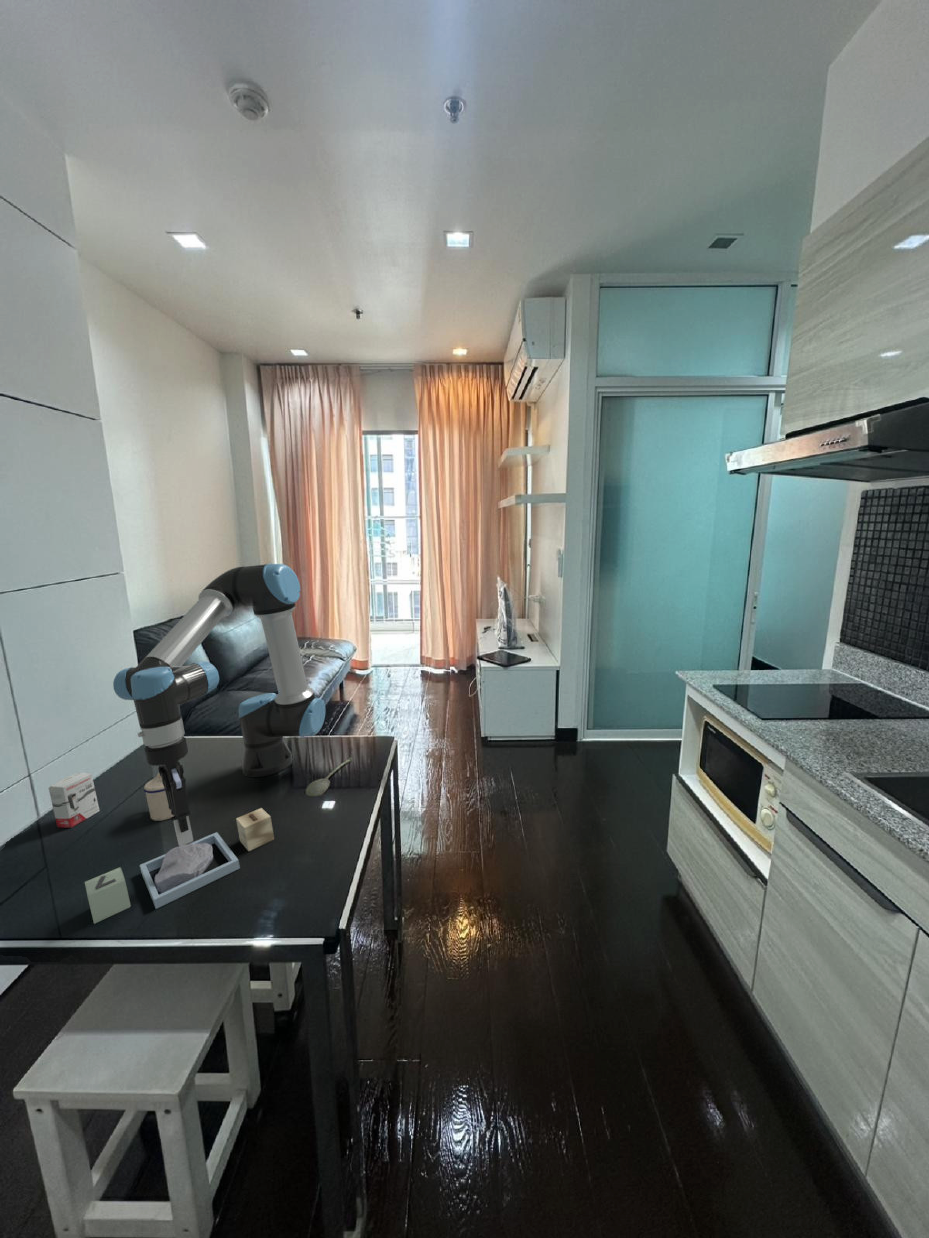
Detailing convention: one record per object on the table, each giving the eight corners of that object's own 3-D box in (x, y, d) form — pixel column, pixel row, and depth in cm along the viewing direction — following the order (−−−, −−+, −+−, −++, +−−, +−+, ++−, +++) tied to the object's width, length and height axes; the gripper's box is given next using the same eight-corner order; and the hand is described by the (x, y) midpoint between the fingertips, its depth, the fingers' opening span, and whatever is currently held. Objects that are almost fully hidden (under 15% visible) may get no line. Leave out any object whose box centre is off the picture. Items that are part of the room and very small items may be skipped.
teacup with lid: (195, 806, 136) (187, 767, 134) (162, 824, 128) (154, 783, 127) (169, 799, 142) (161, 761, 140) (136, 816, 134) (128, 776, 132)
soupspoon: (301, 799, 137) (321, 802, 136) (299, 788, 137) (320, 791, 135) (341, 761, 158) (360, 763, 156) (340, 751, 157) (359, 753, 155)
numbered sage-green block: (126, 892, 103) (120, 865, 102) (130, 906, 98) (124, 879, 97) (90, 908, 99) (84, 881, 98) (94, 924, 94) (87, 895, 93)
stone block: (216, 858, 115) (167, 862, 112) (217, 839, 114) (168, 842, 111) (205, 893, 104) (151, 898, 101) (206, 872, 103) (152, 877, 100)
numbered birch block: (265, 830, 122) (261, 807, 121) (274, 839, 117) (270, 815, 116) (240, 841, 118) (235, 817, 117) (248, 851, 113) (244, 827, 112)
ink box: (71, 828, 131) (61, 787, 129) (56, 827, 132) (46, 787, 130) (101, 810, 139) (92, 771, 137) (87, 810, 140) (78, 771, 138)
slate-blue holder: (218, 839, 119) (216, 831, 119) (240, 868, 107) (238, 859, 107) (141, 873, 109) (139, 864, 108) (155, 908, 97) (154, 899, 96)
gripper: (138, 739, 105) (160, 838, 109) (150, 755, 96) (173, 864, 100) (177, 728, 110) (196, 823, 114) (192, 742, 101) (212, 846, 105)
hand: (185, 842), depth 107 cm, fingers closed
